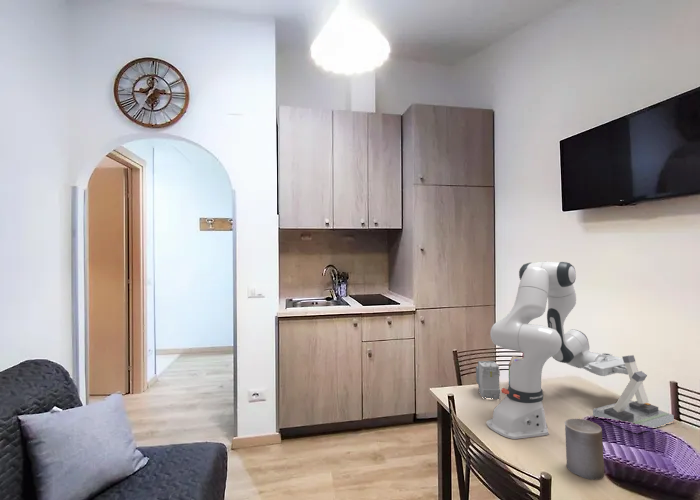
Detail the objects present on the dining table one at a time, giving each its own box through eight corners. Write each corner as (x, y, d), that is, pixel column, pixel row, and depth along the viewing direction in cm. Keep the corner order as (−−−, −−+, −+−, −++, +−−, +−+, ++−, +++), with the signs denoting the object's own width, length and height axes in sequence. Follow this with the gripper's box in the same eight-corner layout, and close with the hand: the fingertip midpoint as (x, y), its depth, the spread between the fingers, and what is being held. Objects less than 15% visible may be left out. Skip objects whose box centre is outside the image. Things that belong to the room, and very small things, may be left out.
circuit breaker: (491, 388, 179) (490, 357, 179) (500, 399, 165) (499, 366, 165) (475, 388, 180) (474, 357, 180) (483, 399, 166) (482, 366, 166)
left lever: (618, 412, 138) (640, 376, 131) (612, 408, 140) (634, 372, 133) (624, 410, 140) (647, 375, 132) (619, 406, 142) (641, 371, 134)
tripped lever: (643, 403, 144) (627, 356, 149) (637, 403, 146) (622, 356, 151) (649, 402, 145) (633, 355, 150) (643, 401, 147) (628, 355, 152)
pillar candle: (596, 463, 115) (594, 415, 115) (610, 482, 105) (607, 429, 106) (562, 460, 117) (560, 413, 118) (572, 478, 108) (570, 427, 108)
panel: (636, 434, 131) (636, 421, 132) (593, 416, 146) (592, 404, 146) (673, 422, 139) (673, 410, 140) (628, 406, 154) (628, 395, 154)
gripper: (580, 359, 159) (613, 368, 146) (611, 353, 167) (645, 361, 154) (581, 373, 159) (614, 384, 146) (611, 366, 167) (645, 376, 154)
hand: (630, 372), depth 150 cm, fingers closed, pressing on tripped lever
